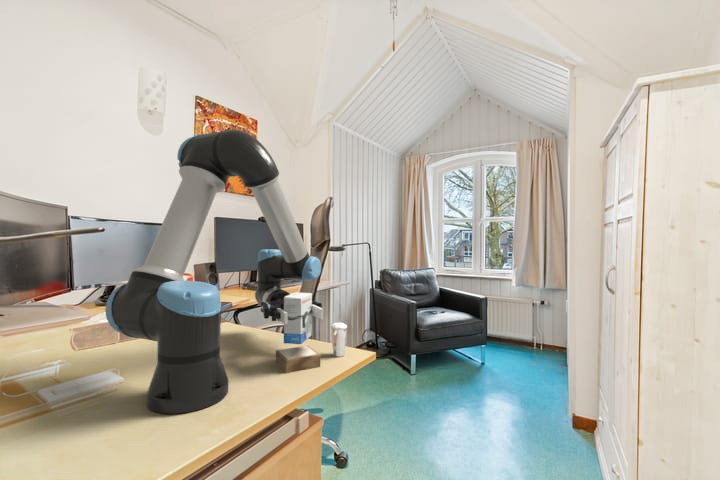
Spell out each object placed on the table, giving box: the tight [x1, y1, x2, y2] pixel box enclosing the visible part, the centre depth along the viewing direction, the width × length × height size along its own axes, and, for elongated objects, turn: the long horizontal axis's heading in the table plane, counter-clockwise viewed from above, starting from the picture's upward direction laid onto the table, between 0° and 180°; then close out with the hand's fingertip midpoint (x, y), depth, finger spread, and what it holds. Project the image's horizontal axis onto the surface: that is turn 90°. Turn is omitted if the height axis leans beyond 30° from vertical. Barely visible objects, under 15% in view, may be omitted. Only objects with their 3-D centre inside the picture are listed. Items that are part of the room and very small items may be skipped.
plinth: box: [275, 345, 321, 374], centre depth 91 cm, size 9×9×3 cm
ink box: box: [283, 291, 313, 345], centre depth 91 cm, size 8×5×12 cm, turn 169°
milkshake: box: [330, 322, 350, 358], centre depth 98 cm, size 4×5×10 cm
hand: (304, 316), depth 87 cm, fingers closed on ink box, 9 cm apart
